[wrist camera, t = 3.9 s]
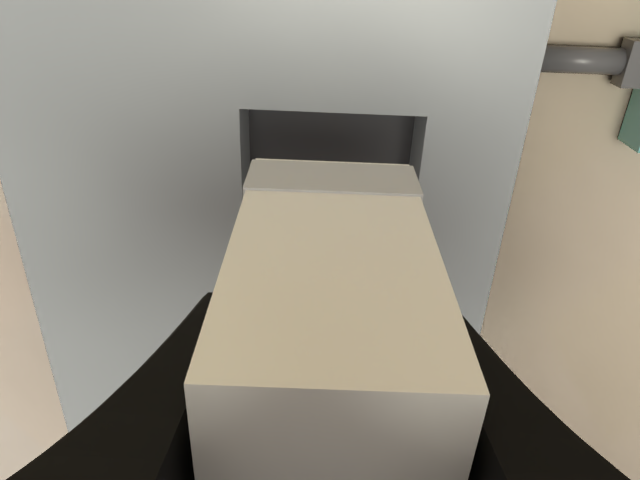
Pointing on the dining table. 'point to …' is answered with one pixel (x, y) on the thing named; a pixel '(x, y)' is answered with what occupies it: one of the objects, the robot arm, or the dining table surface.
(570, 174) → the dining table surface
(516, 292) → the dining table surface
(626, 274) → the dining table surface
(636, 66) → the phone with cable
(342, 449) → the charger plug
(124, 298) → the outlet plate
